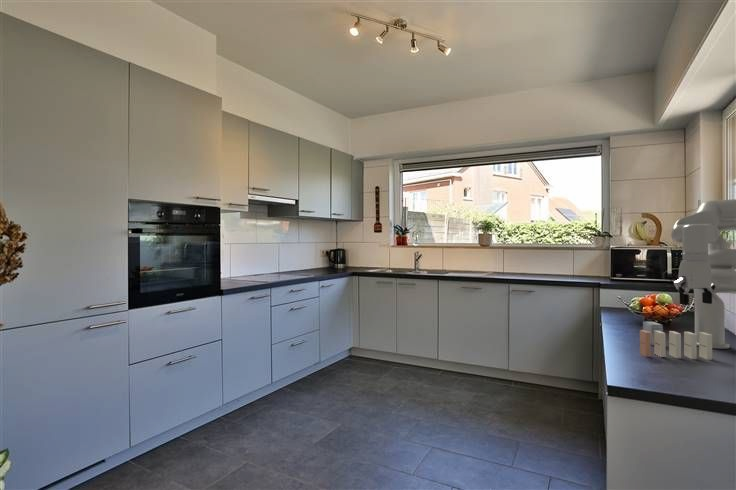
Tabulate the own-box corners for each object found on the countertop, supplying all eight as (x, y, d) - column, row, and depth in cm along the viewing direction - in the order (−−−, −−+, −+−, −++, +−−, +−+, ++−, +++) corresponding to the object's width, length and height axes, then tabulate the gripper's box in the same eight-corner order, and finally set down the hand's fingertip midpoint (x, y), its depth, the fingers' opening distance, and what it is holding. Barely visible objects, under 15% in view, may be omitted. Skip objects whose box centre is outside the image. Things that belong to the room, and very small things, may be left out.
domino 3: (673, 355, 155) (673, 331, 155) (680, 358, 150) (680, 333, 150) (669, 354, 155) (669, 331, 155) (676, 358, 150) (675, 333, 150)
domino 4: (689, 355, 154) (688, 331, 154) (696, 359, 149) (696, 334, 149) (684, 355, 154) (684, 331, 154) (691, 358, 149) (691, 334, 149)
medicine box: (663, 346, 169) (663, 325, 169) (651, 345, 170) (651, 324, 170) (654, 341, 177) (654, 321, 177) (642, 341, 177) (642, 321, 177)
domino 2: (659, 354, 156) (659, 330, 156) (665, 357, 151) (665, 333, 151) (654, 354, 156) (654, 330, 156) (660, 357, 151) (660, 333, 151)
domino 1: (644, 353, 157) (644, 330, 157) (650, 356, 152) (650, 332, 152) (639, 353, 157) (639, 329, 157) (645, 356, 152) (645, 332, 152)
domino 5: (704, 356, 153) (704, 332, 153) (712, 359, 148) (712, 335, 148) (699, 356, 153) (699, 332, 153) (707, 359, 148) (707, 334, 148)
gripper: (705, 256, 156) (706, 301, 157) (665, 258, 154) (666, 303, 154) (725, 257, 149) (726, 304, 149) (684, 259, 146) (684, 306, 147)
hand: (695, 303), depth 152 cm, fingers open, 9 cm apart
